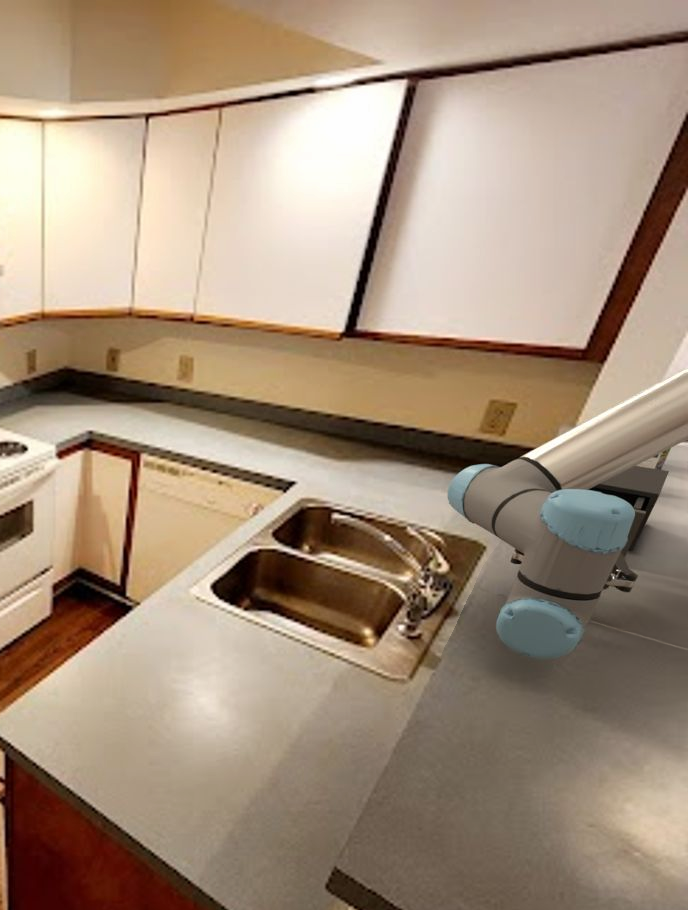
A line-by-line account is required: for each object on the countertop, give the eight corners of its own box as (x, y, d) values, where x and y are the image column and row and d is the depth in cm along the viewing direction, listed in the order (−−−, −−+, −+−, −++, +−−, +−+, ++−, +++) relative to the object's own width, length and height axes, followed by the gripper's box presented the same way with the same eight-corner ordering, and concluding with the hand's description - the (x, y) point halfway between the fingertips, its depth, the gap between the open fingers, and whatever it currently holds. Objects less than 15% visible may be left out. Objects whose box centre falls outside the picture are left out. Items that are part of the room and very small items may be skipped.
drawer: (618, 570, 96) (641, 522, 92) (540, 551, 102) (558, 505, 99) (634, 534, 106) (655, 489, 102) (562, 519, 113) (579, 476, 109)
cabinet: (632, 550, 103) (659, 494, 99) (549, 531, 110) (571, 478, 106) (643, 524, 111) (669, 470, 107) (566, 508, 119) (586, 458, 114)
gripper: (641, 580, 75) (661, 521, 89) (507, 547, 84) (544, 498, 98) (616, 631, 79) (639, 567, 92) (489, 594, 88) (527, 540, 101)
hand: (590, 531), depth 95 cm, fingers closed
